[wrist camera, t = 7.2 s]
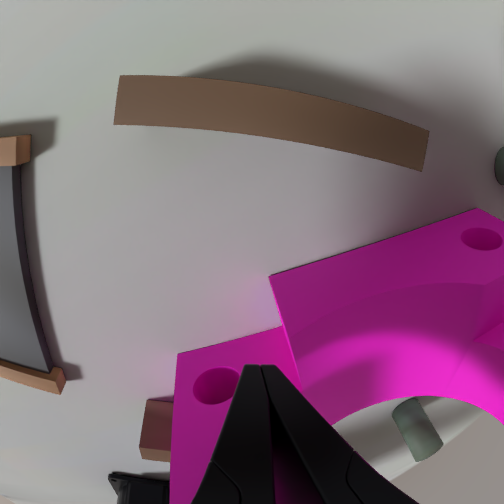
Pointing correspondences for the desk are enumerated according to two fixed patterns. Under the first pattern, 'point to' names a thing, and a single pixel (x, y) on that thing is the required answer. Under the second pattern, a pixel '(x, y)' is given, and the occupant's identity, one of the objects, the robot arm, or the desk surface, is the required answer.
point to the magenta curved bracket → (362, 336)
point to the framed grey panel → (208, 118)
